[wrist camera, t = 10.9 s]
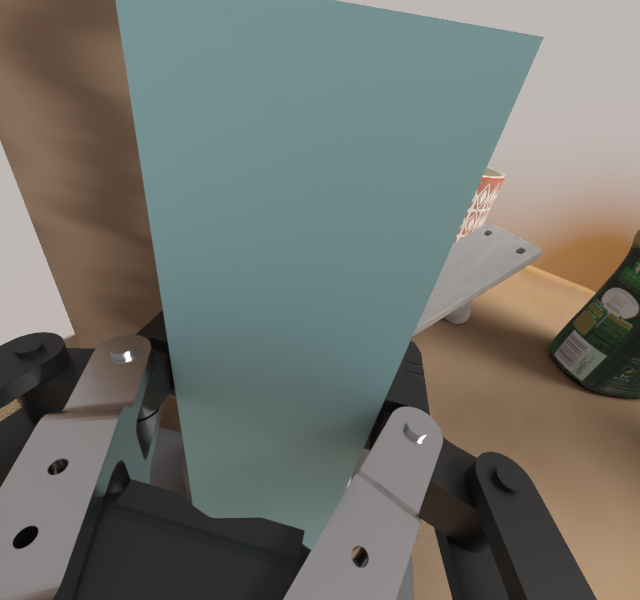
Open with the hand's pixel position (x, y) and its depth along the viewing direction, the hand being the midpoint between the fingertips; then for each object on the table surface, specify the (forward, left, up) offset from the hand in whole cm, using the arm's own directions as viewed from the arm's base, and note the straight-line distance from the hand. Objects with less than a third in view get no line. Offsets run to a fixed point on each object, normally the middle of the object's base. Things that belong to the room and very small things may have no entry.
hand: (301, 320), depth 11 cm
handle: (-25, -9, -14) cm, 30 cm away
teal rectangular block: (+2, +1, -10) cm, 10 cm away
